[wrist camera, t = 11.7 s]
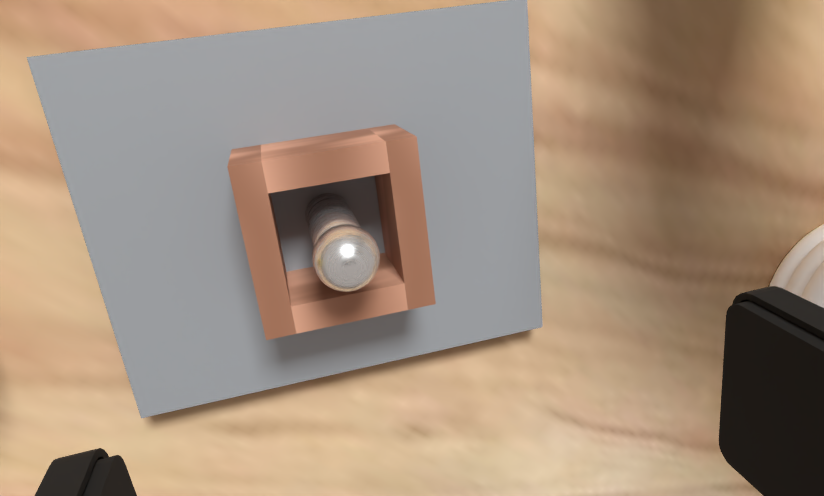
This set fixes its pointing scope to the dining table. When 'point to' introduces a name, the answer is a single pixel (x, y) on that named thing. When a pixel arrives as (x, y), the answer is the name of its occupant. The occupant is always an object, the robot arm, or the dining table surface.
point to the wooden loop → (320, 164)
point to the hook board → (282, 121)
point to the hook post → (340, 244)
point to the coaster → (804, 268)
